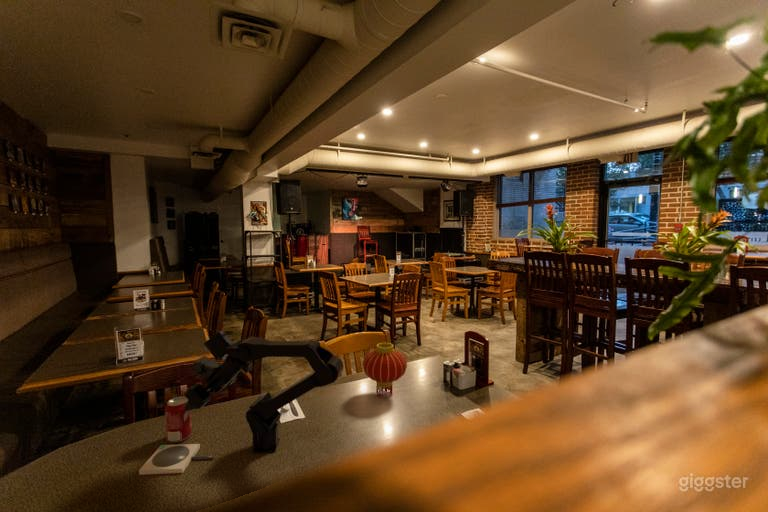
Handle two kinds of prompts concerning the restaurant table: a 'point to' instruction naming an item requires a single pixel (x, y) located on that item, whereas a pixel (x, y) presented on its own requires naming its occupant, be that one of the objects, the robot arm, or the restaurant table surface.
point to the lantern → (384, 366)
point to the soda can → (177, 420)
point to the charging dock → (171, 459)
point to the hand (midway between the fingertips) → (195, 402)
